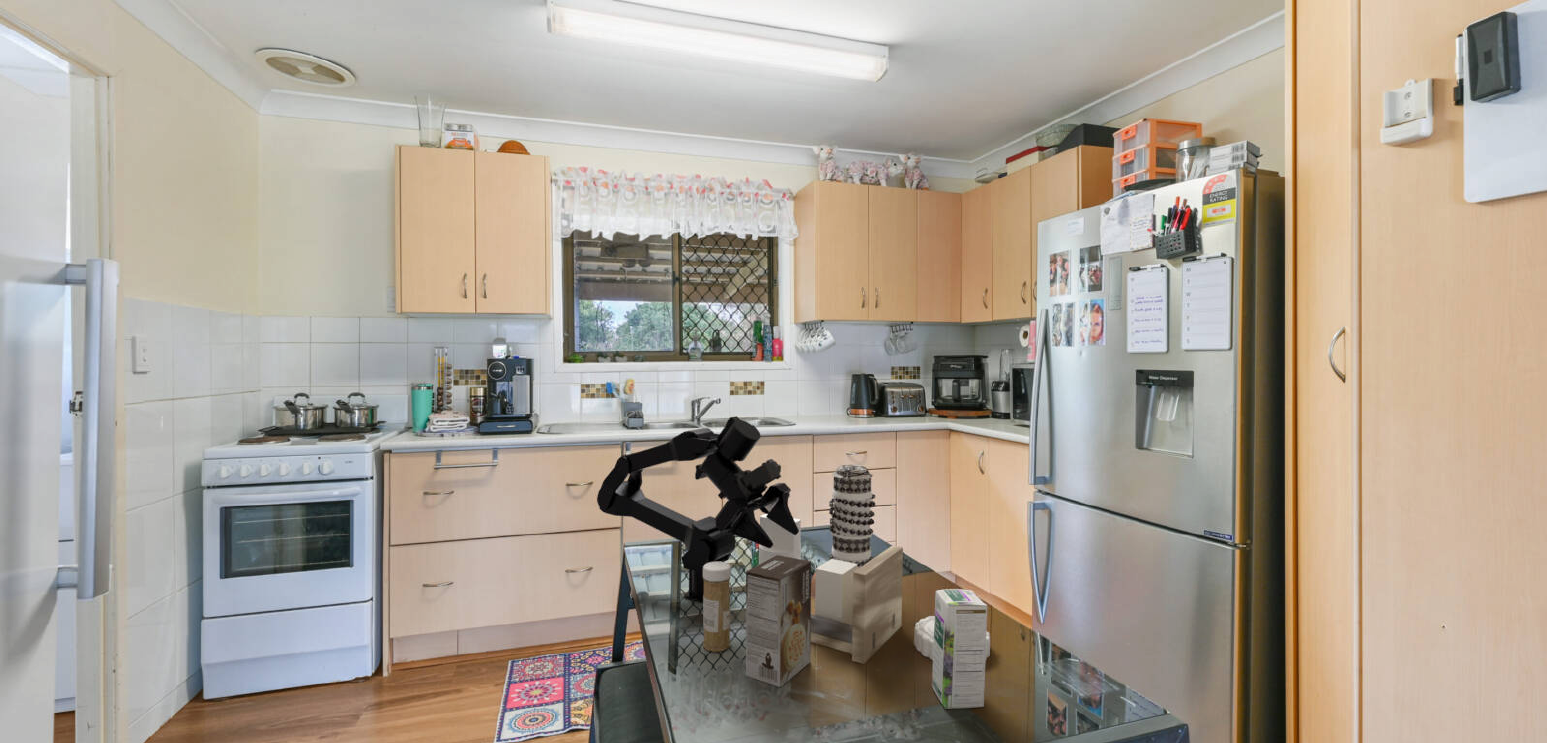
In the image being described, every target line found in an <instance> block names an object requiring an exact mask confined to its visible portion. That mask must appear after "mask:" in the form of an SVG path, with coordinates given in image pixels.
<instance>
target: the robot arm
mask: <svg viewBox="0 0 1547 743" xmlns="http://www.w3.org/2000/svg"><path fill="white" fill-rule="evenodd" d="M761 436H762V435H761V433H760V431H759V429H758V428H757V427H756V426H755V425H752V424H751V423H750V422H748V421H745V420H743V419H740V418H739V417H738V416H737V415H736V416H730V417H729V418H728V419H727V421H726V424H725V426H724V428H723V429H722V430H721V431H720V433H715V432H714V431H712V430H711V428H708V427H703V428H697V429H692V430H691V429H689V430H685V431H683V432H681V433H679V434H677V435H675V436H674V437H672V438H671V439H670V440H669V441H668V442H666V443H662V444H660V445H656V446H653V447H650V448H646V449H644V450H641V451H637V452H633V453H629V454H622V455H621V456H620V457H618V458H617V460H616V461H615V465H614V467H613V468H612V469H611V471H610V472H609V473H608V475H606V477H605V478H604V479H603V481H602V484H601V486H600V488H599V490H598V493H597V497H596V503H597V506H598V508H599V510H600V511H601V512H603V513H604V514H608V515H611V516H616V517H629V518H633V519H635V520H637V521H639V522H641V523H643V524H645V525H648V526H650V527H651V528H653V529H655V530H657V531H659V532H661V533H663V534H665V535H667V536H669V537H671V538H673V539H675V540H677V541H679V542H681V543H683V544H684V546H685V548H686V550H687V551H686V552H685V553H684V554H683V555H682V556H681V561H682V565H683V569H685V570H688V592H686V593H684V594H683V597H684V598H686V599H690V600H694V601H697V602H698V601H699V602H703V595H704V580H703V579H704V578H703V566H704V565H705V564H707V563H710V562H726V561H727V562H728V561H729V560H730V556H731V554H732V552H734V551H735V547H736V544H737V543H736V542H737V539H736V537H740V538H741V539H742V538H743V539H745V540H748V541H751V542H753V543H754V544H758V545H759V544H760V545H762V546H765V547H767V548H771V547H772V546H773V542H772V541H771V539H770V538H769V536H768V535H767V534H766V532H765V531H764V530H763V528H762V527H761V526H760V522H758V521H757V519H756V517H755V515H756V514H755V511H756V510H759V511H760V512H762V513H763V514H768V515H767V516H766V517H767V518H768V519H770V520H771V521H773V522H775V523H776V524H778V525H779V526H781V527H782V528H784V529H785V530H787V531H788V532H790V533H792V534H794V535H797V534H798V532H799V530H798V527H797V525H796V523H795V521H794V519H793V518H794V517H793V515H792V513H791V510H790V508H789V499H790V497H791V494H790V492H792V490H791V488H790V487H789V486H788V485H787V484H786V483H785V482H778V483H774V484H772V485H770V486H767V485H768V484H770V483H772V482H773V481H775V480H779V479H780V478H782V475H781V472H782V465H781V464H779V463H777V461H775V460H774V459H772V458H770V459H767V460H766V461H765V462H762V463H761V465H759V466H757V467H756V468H755V469H752V470H751V469H750V470H749V469H746V470H743V469H742V468H741V467H740V466H739V465H738V464H737V463H736V462H743V461H745V459H746V458H747V457H748V456H749V454H750V453H751V451H752V450H753V448H754V447H755V446H756V444H757V443H759V440H760V439H761ZM703 458H704V460H703V462H702V463H701V464H696V465H695V472H694V473H695V475H694V476H695V477H694V479H695V480H697V481H698V480H701V479H704V478H707V479H709V480H710V482H712V484H713V485H714V486H715V488H717V489H718V491H720V492H719V493H718V495H717V497H718V498H719V499H720V500H723V499H724V500H725V499H727V501H726V502H725V504H724V505H723V507H722V508H721V509H720V511H719V512H718V513H717V515H716V516H715V517H713V516H710V515H709V516H706V517H704V518H701V519H698V520H694V519H693V518H690V517H688V516H687V515H684V514H682V513H679V512H677V511H675V510H673V509H671V508H669V507H667V506H665V505H662V504H661V503H658V502H656V501H654V500H652V499H651V498H650V499H649V498H648V497H646V496H645V494H644V491H643V490H642V489H641V487H642V485H643V474H642V472H643V471H644V470H645V469H648V468H651V467H654V466H659V465H662V464H666V463H669V462H690V461H695V460H696V461H697V460H699V459H700V460H701V459H703ZM628 475H629V476H628ZM626 478H627V480H626Z"/></svg>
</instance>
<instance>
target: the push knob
mask: <svg viewBox="0 0 1547 743" xmlns="http://www.w3.org/2000/svg"><path fill="white" fill-rule="evenodd" d="M856 570H858V564H855V563H850V562H845V561H840V560H835V559H831V560H830V559H829V560H827V561H826V562H824V563H822V564H821V565H819V566H817V567H816V568H815V571H814V574H813V575H812V577H811V598H813V599H815V600H814V601H815V602H814V604H815V606H814V609H815V610H814V615H816V616H819V617H823V618H827V619H831V620H835V621H838V622H842V623H846V624H850V625H852V624H853V572H855V571H856Z"/></svg>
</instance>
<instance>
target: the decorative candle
mask: <svg viewBox="0 0 1547 743" xmlns="http://www.w3.org/2000/svg"><path fill="white" fill-rule="evenodd" d="M831 475H832V476H833V487H832V498H831V499H830V500H829V501H828V504H829V507H830V508H829V512H828V514H829V515H831V518H829V524H830V526H829V532H830V534H831V535H832V546H831V553H830V555H829V560H831V559H835V560H840V561H845V562H850V563H855V564H858V569H859V568H860V567H862V566H863V565H865V564H866V563H868V562H869V561H871V560H872V559H873V558H874V557H873V556H872V547H871V537H872V536H873V534H874V529H873V528H871V526H872V525H873V524H875V520H874V519H873V518H872V517H875V511H872V509H871V508H874V507H876V502H875V501H873V500H874V499H876V495H875V494H874V493H873V489H872V477H873V476H874V475H873V474H872V473H870V472H869V469H868V468H867V467H865V466H863V465H859V464H857V465H856V464H844V465H840V466H838V467H837V468H836V470H835V472H832V473H831Z"/></svg>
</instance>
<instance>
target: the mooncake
mask: <svg viewBox="0 0 1547 743" xmlns="http://www.w3.org/2000/svg"><path fill="white" fill-rule="evenodd" d="M934 622H935V615H929V616H926V617H925V618H921V619H920V620H918V622H916V623H915V626H914V630H913V631H914V632H913V633H914V635H913V636H914V639H913V644H914V645H913V646H915V648H916V650H917V651H918V652H919V653H921V655H922V656H924V657H927V658H929V659H930V660H932V661H933V645H934ZM990 655H991V634H990V632H989V631H987V635H986V660H987V659H988V658H989V657H990Z"/></svg>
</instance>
